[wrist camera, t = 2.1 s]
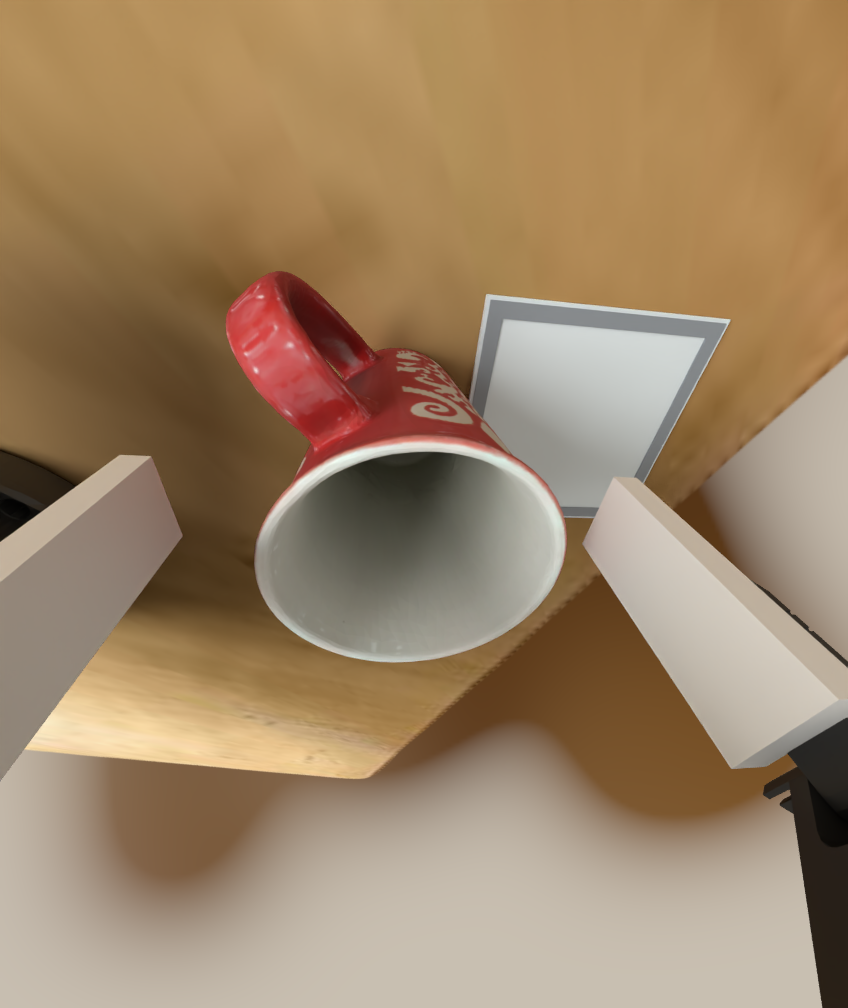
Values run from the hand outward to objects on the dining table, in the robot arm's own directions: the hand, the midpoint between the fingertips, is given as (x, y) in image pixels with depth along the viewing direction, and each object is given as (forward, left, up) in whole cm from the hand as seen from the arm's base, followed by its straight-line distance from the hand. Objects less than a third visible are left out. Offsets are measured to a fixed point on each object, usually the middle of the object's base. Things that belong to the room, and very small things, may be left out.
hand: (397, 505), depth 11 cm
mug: (0, 0, -12) cm, 12 cm away
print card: (+12, -2, -12) cm, 17 cm away
